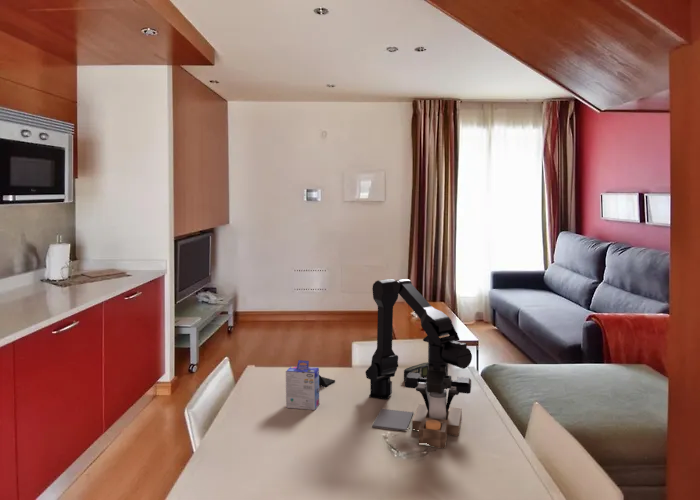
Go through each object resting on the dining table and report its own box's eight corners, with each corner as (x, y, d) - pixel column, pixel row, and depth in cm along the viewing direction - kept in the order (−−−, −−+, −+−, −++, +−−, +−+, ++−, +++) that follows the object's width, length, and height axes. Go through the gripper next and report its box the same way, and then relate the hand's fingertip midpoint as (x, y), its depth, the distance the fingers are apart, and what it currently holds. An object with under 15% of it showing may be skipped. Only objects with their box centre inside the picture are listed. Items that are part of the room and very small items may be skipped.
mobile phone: (407, 370, 180) (436, 361, 189) (401, 368, 182) (430, 359, 191) (408, 384, 181) (436, 373, 190) (402, 381, 183) (430, 371, 192)
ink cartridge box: (320, 403, 163) (319, 360, 162) (315, 410, 158) (315, 365, 156) (291, 401, 165) (290, 358, 164) (285, 408, 160) (284, 364, 158)
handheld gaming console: (337, 376, 184) (326, 359, 178) (332, 393, 179) (320, 377, 173) (310, 375, 189) (299, 360, 183) (304, 392, 184) (292, 377, 178)
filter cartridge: (427, 426, 146) (428, 393, 145) (430, 419, 151) (430, 387, 150) (445, 428, 144) (445, 395, 143) (447, 421, 149) (447, 388, 148)
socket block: (407, 443, 136) (407, 427, 136) (418, 413, 155) (418, 399, 155) (456, 449, 132) (456, 433, 132) (461, 418, 151) (461, 403, 151)
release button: (424, 439, 136) (424, 425, 135) (426, 432, 139) (426, 419, 139) (439, 441, 134) (439, 427, 134) (441, 434, 138) (441, 420, 138)
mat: (372, 427, 146) (372, 425, 146) (381, 410, 157) (381, 408, 157) (406, 431, 143) (406, 429, 143) (413, 414, 155) (413, 412, 154)
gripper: (401, 365, 140) (401, 419, 142) (469, 371, 135) (468, 426, 137) (407, 353, 151) (407, 403, 153) (471, 358, 146) (470, 410, 147)
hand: (437, 410), depth 147 cm, fingers closed on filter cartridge, 5 cm apart
